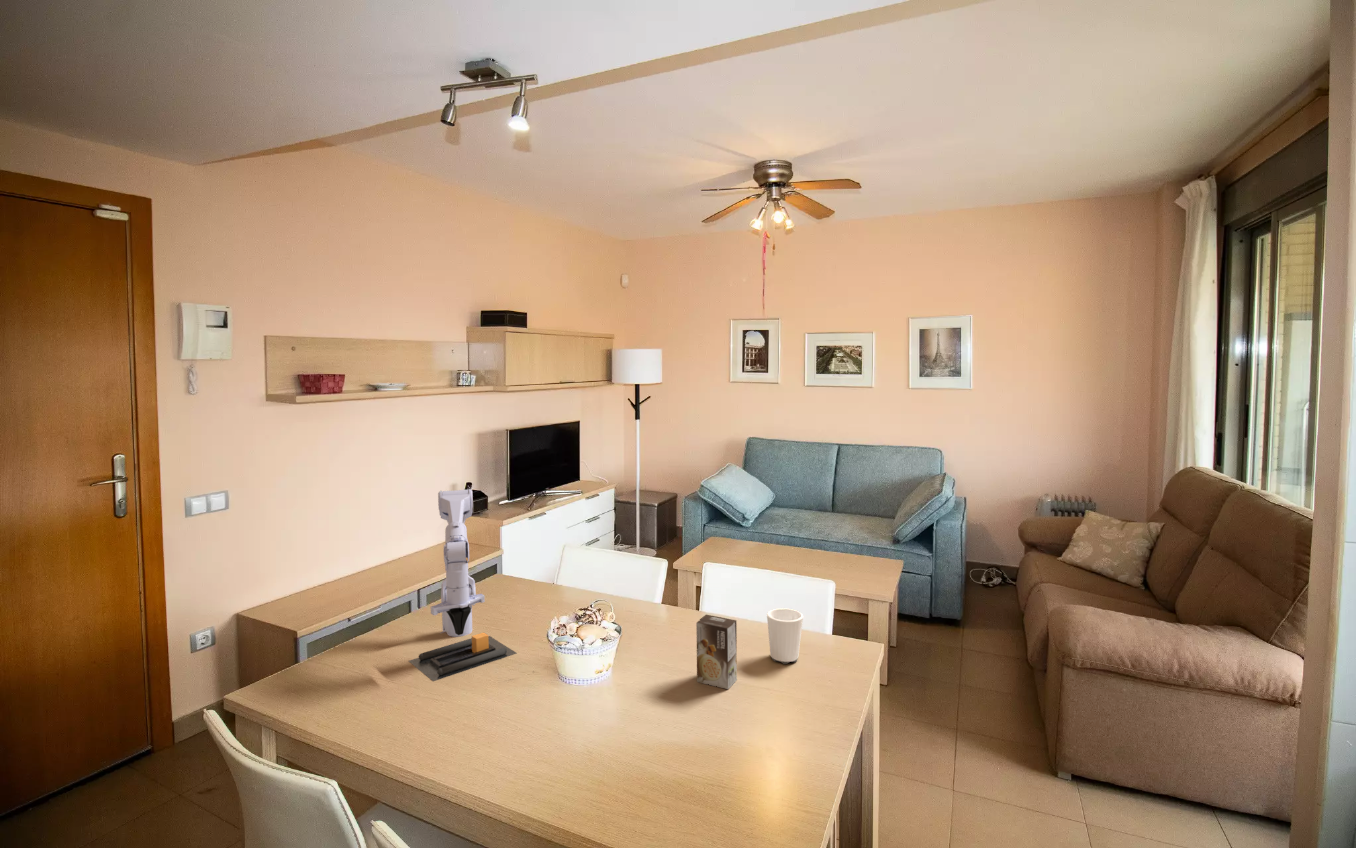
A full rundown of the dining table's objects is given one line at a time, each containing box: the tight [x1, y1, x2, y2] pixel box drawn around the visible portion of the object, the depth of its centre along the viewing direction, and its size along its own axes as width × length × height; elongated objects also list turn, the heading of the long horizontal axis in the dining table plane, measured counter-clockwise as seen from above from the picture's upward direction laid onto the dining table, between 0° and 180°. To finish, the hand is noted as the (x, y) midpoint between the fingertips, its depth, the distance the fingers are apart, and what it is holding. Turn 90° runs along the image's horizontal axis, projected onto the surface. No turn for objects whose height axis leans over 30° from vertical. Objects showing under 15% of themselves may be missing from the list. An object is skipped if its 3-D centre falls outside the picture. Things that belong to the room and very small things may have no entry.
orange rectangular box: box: [471, 632, 489, 653], centre depth 189 cm, size 3×4×4 cm
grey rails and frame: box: [418, 637, 507, 675], centre depth 186 cm, size 14×20×2 cm
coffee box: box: [695, 614, 738, 690], centre depth 174 cm, size 9×6×16 cm
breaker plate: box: [408, 635, 518, 682], centre depth 186 cm, size 16×24×2 cm, turn 133°
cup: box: [766, 607, 804, 665], centre depth 187 cm, size 10×10×13 cm
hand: (459, 633), depth 184 cm, fingers closed
